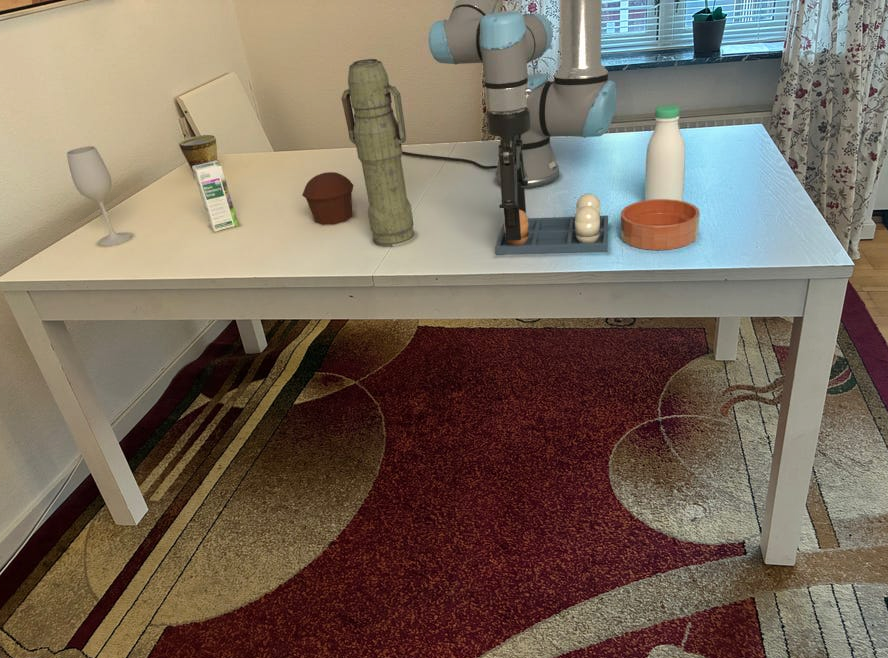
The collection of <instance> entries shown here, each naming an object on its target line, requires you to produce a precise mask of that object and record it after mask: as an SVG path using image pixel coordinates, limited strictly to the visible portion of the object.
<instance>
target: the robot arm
mask: <svg viewBox="0 0 888 658" xmlns="http://www.w3.org/2000/svg"><path fill="white" fill-rule="evenodd" d="M498 2H499V0H455V2H454V5H453V8H452V10H451V13H450V15H449V18H448V19H445V18H444V19H442V20H437V21H435V22H434V23H433V24H432V25H431V27H430V29H429V33H428V46H429V52H430V54H431V55H432V58H433V59H434V60H435V62H437V63H439V64H448V65H462V64H463V65H465V64H482V69H483V77H484V78H483V79H484V83H483V84H484V97H485V98H484V99H485V109H486V110H487V111H488V113H487V114H486V118H487V130H488V133H489V134H490V136H494V137H499V139H500V142H499V143H500V144H499V145H498V160H497V165H483V164H480V163H478V162H477V161H475V160H471V159H467V158H459V157H450V156H440V155H429V154H421V153H416V152H415V153H414V152H408V151H403V150H402V155H405V156H409V157H410V156H411V157H418V158H427V159H435V160H443V161H445V160H446V161H453V162H462V163H463V162H464V163H467V164H471V165H474V166H476V167H478V168H480V169H482V170H483V169H484V170H493V169H495V173H494V174H495V182H496V184H498V185H499V186H500V195H501V203H500V204H499V205H498V207H499V209H503V216H504V218H505V231H506V241H512V240H521V229H520V215H519V209H520V210H522V211H524V212H525V213H526V214H527V208H526V206H527V205H526V194H525V193H526V192H525V191H526V190H525V189H534V188H539V187H543V186H547V185H550V184H552V183H554V182H555V181H557V180H558V179H559V178H560V167H559V164H558V161H557V159H556V156H555V154H554V151H553V148H552V146H551V137H577V138H579V137H580V138H584V139H585V138H592V137H593V138H596V137H598V138H599V137H602V136H603V135H604V134H606V133H607V131H608V130H609V128H610V126H611V123H612V121H613V117H614V115H615V110H616V106H617V105H616V104H617V96H618V95H617V93H618V90H617V84H616V83H615V82H614V81H612V80H611V79H610V80H609V71H608V70H607V68H606V67H605V66H603V64H602V5H603V4H602V0H559V6H560V7H559V8H560V9H559V16H560V17H559V20H560V27H559V28H560V30H559V31H560V67H559V68H558V69H557V70H556V72H555V73H554V74H553V81H549V77H548V75H547V74H546V73H532V74H528V64H529V63H531V62H532V61H535V60H538V59H540V58H541V57H542V56H543V55H544V54H545V53H546V52H547V51H548V50H549V49H550V47H551V45H552V42H553V35H554V33H553V28H552V25H551V22H550V21H549V20H548V19H547V18H546V16H544V15H542V14H540V13H537V12H530V13H524V14H523V13H522V12H521V11H518V10H504V11H497V12H495V11H496V8H497V5H498ZM504 218H503V219H504Z"/></svg>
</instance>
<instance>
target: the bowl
mask: <svg viewBox="0 0 888 658" xmlns="http://www.w3.org/2000/svg"><path fill="white" fill-rule="evenodd" d="M700 215H701V214H700V209H699V208H698V207H697V206H695V204H692V203H690V202H688V201H685V200H683V201H679V200H671V199H651V200H645V199H644V200H640V201H636V202H634V203H633V202H632V203H630V204H628V205H626V206H624V208H622V210H621V211H620V239H621V240H622V241H623V243H625V244H626V245H629V246H630V247H633V248H637V249H641V250H651V251H669V250H674V249H680V248H683V247H686V246H689V245H691V244H692V243H694V242H695V241H696V240H697V239H698V237H699V230H700V229H699V228H700Z"/></svg>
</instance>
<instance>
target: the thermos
mask: <svg viewBox="0 0 888 658" xmlns="http://www.w3.org/2000/svg"><path fill="white" fill-rule="evenodd" d="M347 84H348V85H347V86H348V88H347V89H345V90H344V91H343V92H342V95H341V103H342V108H343V112H344V117H345V121H346V126H347V127H346V128H347V131H348V138H349V141H350V142H351V143H352V144H353V145H354V146H355V148H356V153H357V154H356V155H357V158H358V160H359V162H360V163H361V167H362V173H363V179H364V184H365V189H366V195H367V200H368V201H367V202H368V210H367V217H368V221H369V227H370V231H371V232H372V237H373V238H372V239H373V243H374V244H375V245H377V246H379V247H380V246H381V247H393V245H399V244H403V243H406V242H408V241H410V240H411V239H413V238H414V237H415V231H414V217H413V211H412V205H411V202H410V201H409V199H408V196H407V190H406V182H405V176H404V175H405V174H404V169H403V162H402V155H403V154H402V151H403V147H402V144H404V143H406V142H407V133H406V126H405V118H404V110H403V104H402V97H401V92H400V91H399V90H398V88H397V87H396V86H393V85H392V84H390V81H389V75H388V73H387V70H386V68H385V66H384V64H383V62H382V61H381V60H378V59H377V58H367V59H360V60H355V61H353V62H352V64H350V65H349V67H348V74H347ZM392 96H393V99H394V107H395V114H396V116H395V114H394V109H393V108H392V102H393V101H392ZM353 112H354V113H353Z"/></svg>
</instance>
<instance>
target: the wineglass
mask: <svg viewBox="0 0 888 658" xmlns="http://www.w3.org/2000/svg"><path fill="white" fill-rule="evenodd" d="M66 159H67V163H68V168H69V171H70V175H71V179H72V182H73V185H74V187H75V188H76V190H77V191H78V192H79V194H81V195H82V196H84V197H85V198H87V199H88V200H91V201H94V202H96V203H97V204H98V205H99V206H100V208H101V209H100V210H101V212H102V214H103V217H104V219H105V222H106V225H107V226H108V230H109V235H106V236H105V237H102V238H101V239H99V240H98V245H99V246H101V247H112V246H115V245H120V244H122V243H126V242H127V241H129V240H130V239H131V238H132V234H130V233H129V232H118V233H117V232H116V231H114V229H113V226H112V224H111V221H110V218H109V216H108V213H107V210H106V208H105V199H106V198H107V197H108V195H109V193H110V191H111V188H112V182H113V181H112V177H111V174H110V172H109V170H108V168H107V166H106V164H105V162H104V159H103V158H102V156H101V154H100V153H99V151H98V149H97V148H96V146H91V145H90V146H82V147H78V148H73V149H71V150H69V151H67V152H66Z"/></svg>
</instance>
